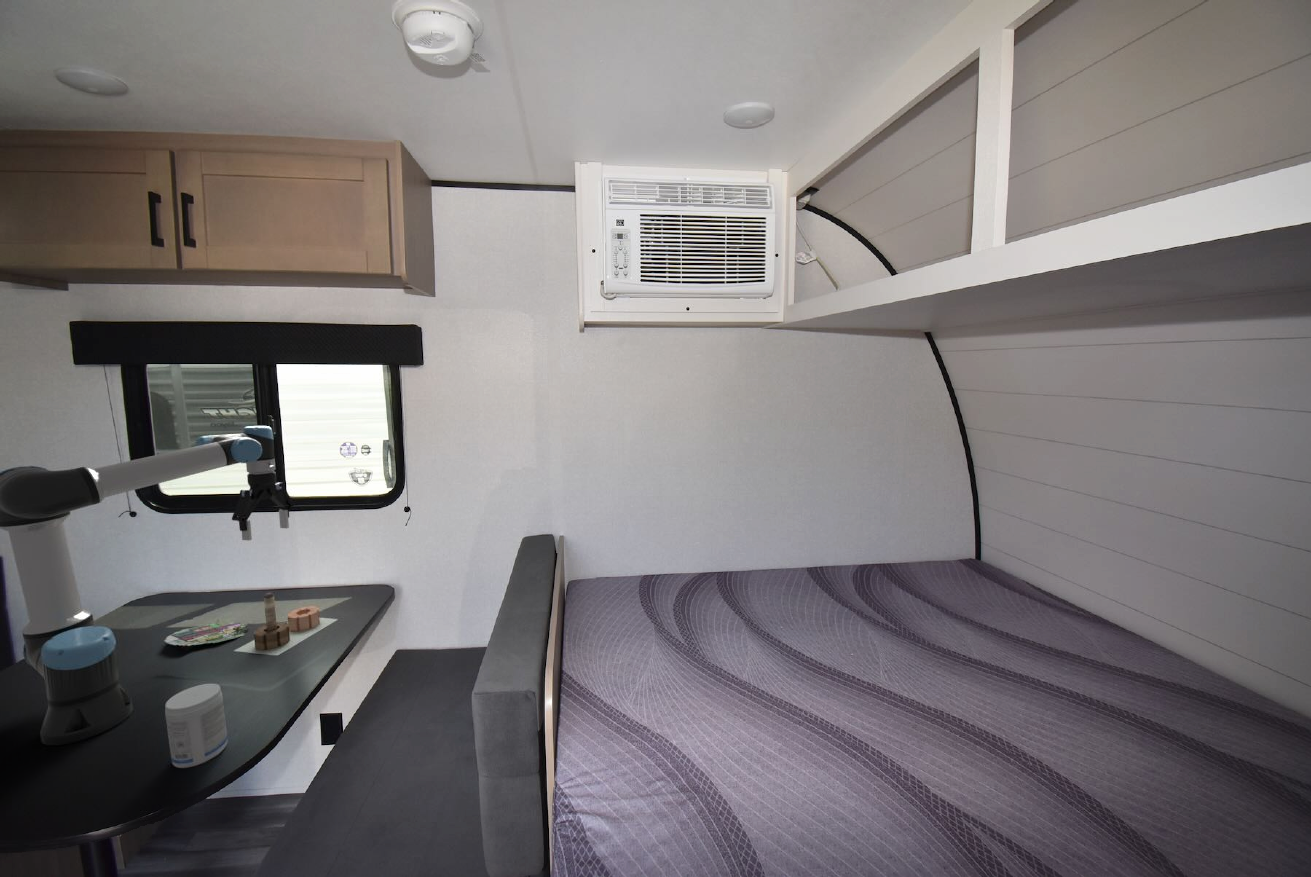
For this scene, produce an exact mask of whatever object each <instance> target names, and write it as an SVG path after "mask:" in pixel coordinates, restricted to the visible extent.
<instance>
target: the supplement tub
mask: <svg viewBox="0 0 1311 877" xmlns="http://www.w3.org/2000/svg"><path fill="white" fill-rule="evenodd" d="M164 707H165V709H164V713H165V716H164V717H165V721H166V730H167V737H168V744H169V751H170V758H171V763H172V765H173V766H174V767H176V768H178V769H187V768H191V767H196V766H198V765H201V764H204V763H206V762H208V761H210V760H211V759H213V758H215V757H217V756H218V755H220V753H221V752H222V751H223V750H224V749H225V748H226V747H227V744H228V731H227V725H226V716H225V708H224V699H223V693H222V690H221V686H220V685H219V684H217V683H204V684H198V685H195V686H191V687H188V688H185V689H184V690H181V691H180V692H178V693H176V694H174V695H173V696H171V697H169V699H168V700H167V701H166V702H165V705H164Z"/></svg>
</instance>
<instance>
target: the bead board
mask: <svg viewBox="0 0 1311 877" xmlns="http://www.w3.org/2000/svg"><path fill="white" fill-rule="evenodd" d="M319 619H320V624H319V625H317V626H316V627H314V628H309V630H305V631H301V632H300V631H298V632H291V631H289V634H290V641H288V643H286V644H285V645H283V646H281V647H280V646H278V648H275V649H271V650H267V649H266V650H265V651H260V650H256V649H255V640H254V639H253V640H251V641H250V642H248V643H246V644H244V645H242V646H240V647H237V648H236V649H234V650H233V652H239V653H240V652H241V653H246V654H247V653H250V654H259V655H268V656H280V655H281V654H283V653H285V652H286V651H288V650H289V649H291V648H293V647H294V646H296V645H298V644H299V643H301V642H303V641H305V640H307V639H308V638H309V637H311V636H313V635H315V634H316V633H318V632H319V631H321V630H323V629H325V628H326V627H328V626H330V625H331V624H333V623H335V622H337V621H338V620H339V619H338V618H330V617H329V618H327V617H319ZM286 623H288V621H286Z"/></svg>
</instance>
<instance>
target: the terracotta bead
mask: <svg viewBox="0 0 1311 877" xmlns="http://www.w3.org/2000/svg"><path fill="white" fill-rule="evenodd" d="M319 618H320V608H319V607H318V606H314V605H310V606H302V607H299V608H295V609H294V610H292V611H289V612H288V613H287V622H288V623H289V631H291V632H298V631H300V632H301V631H305V630H309V628H314V627H316V626H317V625H319V624H320V619H319Z"/></svg>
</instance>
